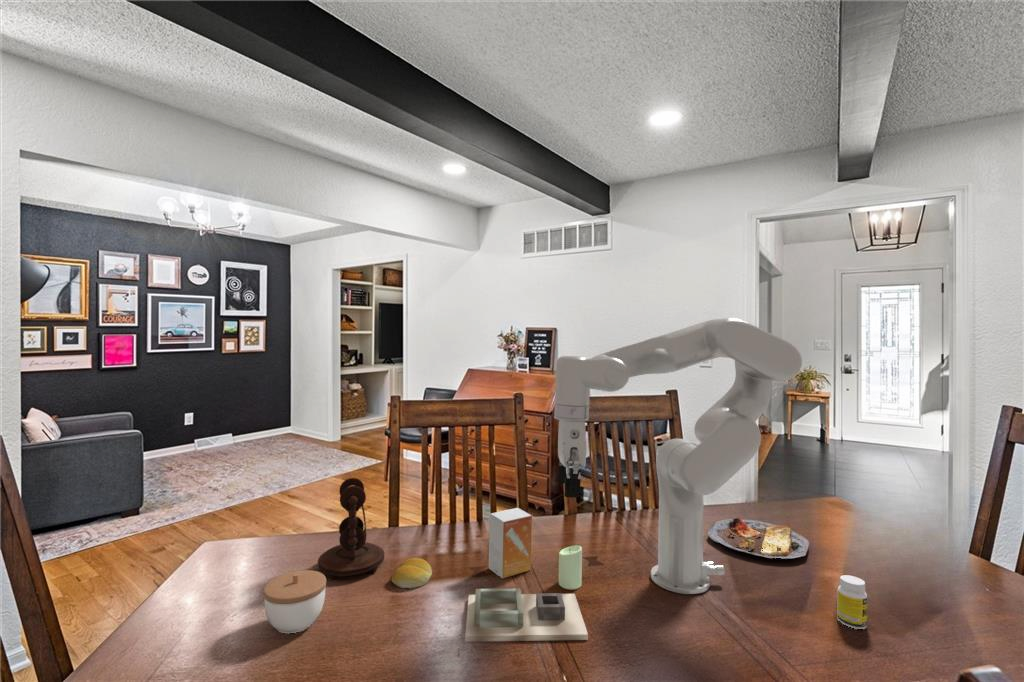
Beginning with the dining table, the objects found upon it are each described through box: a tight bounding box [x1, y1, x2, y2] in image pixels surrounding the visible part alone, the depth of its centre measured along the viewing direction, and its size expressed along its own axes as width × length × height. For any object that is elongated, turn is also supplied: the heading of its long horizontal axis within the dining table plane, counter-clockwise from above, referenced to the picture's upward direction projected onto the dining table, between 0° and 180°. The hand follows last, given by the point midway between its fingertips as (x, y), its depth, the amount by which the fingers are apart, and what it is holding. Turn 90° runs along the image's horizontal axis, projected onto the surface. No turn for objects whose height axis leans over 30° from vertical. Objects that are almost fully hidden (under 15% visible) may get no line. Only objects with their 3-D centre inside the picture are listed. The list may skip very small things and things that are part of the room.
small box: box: [488, 507, 533, 579], centre depth 115 cm, size 8×6×13 cm
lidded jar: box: [263, 569, 327, 635], centre depth 92 cm, size 11×11×9 cm
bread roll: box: [391, 557, 433, 589], centre depth 110 cm, size 8×9×4 cm
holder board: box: [464, 588, 589, 643], centre depth 95 cm, size 22×14×4 cm, turn 92°
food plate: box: [707, 517, 810, 560], centre depth 132 cm, size 25×23×4 cm
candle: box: [558, 545, 583, 590], centre depth 108 cm, size 5×5×8 cm
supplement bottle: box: [836, 574, 868, 630], centre depth 95 cm, size 5×5×8 cm
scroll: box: [317, 477, 385, 580], centre depth 115 cm, size 15×15×20 cm
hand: (568, 489), depth 108 cm, fingers open, 9 cm apart
